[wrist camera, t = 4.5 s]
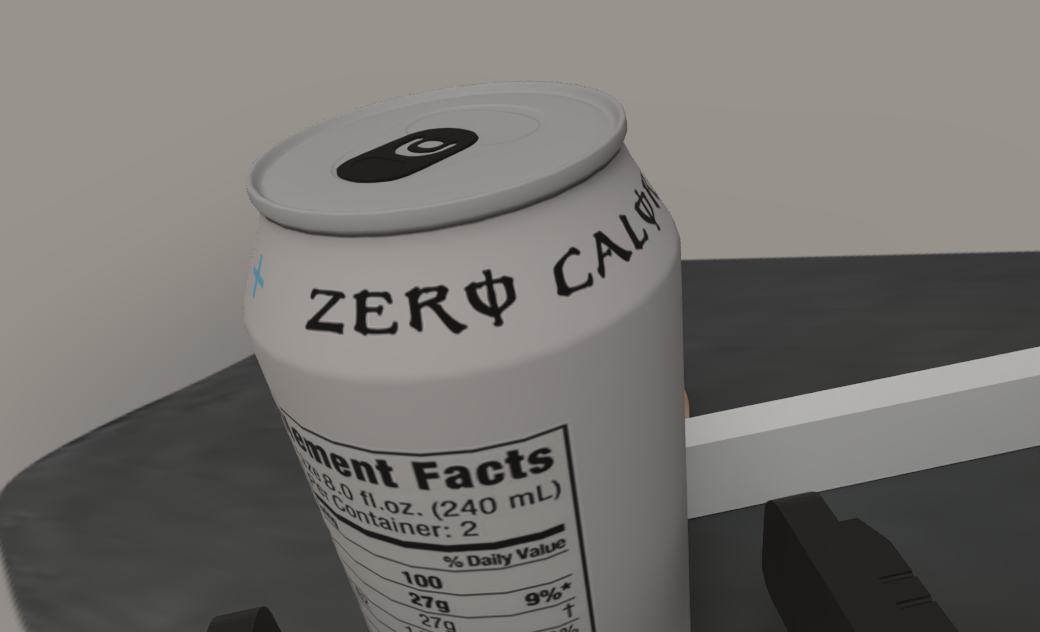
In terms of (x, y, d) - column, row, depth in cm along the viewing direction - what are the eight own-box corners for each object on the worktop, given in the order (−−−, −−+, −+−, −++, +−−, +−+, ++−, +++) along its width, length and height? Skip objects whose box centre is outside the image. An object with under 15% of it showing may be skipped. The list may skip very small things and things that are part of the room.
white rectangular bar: (1021, 419, 24) (1043, 346, 22) (1048, 443, 23) (1073, 368, 21) (400, 548, 23) (377, 481, 21) (399, 579, 22) (375, 511, 20)
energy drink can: (741, 724, 17) (768, 81, 9) (588, 985, 13) (409, 301, 5) (547, 595, 20) (447, 63, 13) (388, 772, 17) (110, 185, 9)
